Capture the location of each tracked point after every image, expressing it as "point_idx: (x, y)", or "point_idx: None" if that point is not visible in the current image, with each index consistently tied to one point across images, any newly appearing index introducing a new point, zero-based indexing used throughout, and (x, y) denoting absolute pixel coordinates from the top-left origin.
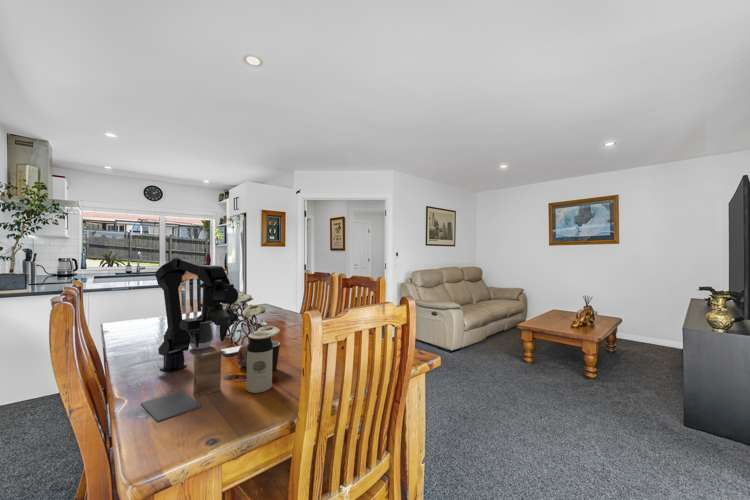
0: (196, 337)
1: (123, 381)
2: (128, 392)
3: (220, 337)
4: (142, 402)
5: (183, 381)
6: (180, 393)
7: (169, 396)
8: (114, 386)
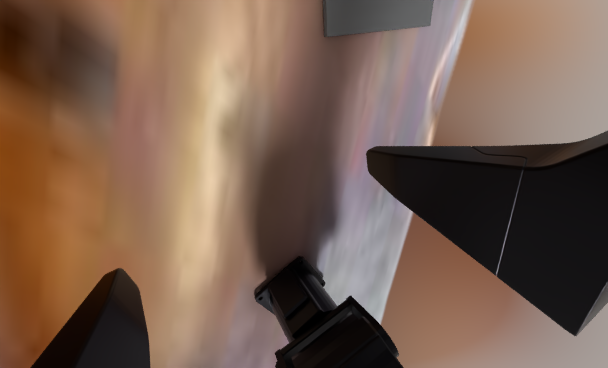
0: (491, 151)
1: (394, 231)
2: None
3: (140, 324)
4: (427, 24)
5: (293, 152)
6: (338, 4)
7: (370, 7)
8: None
